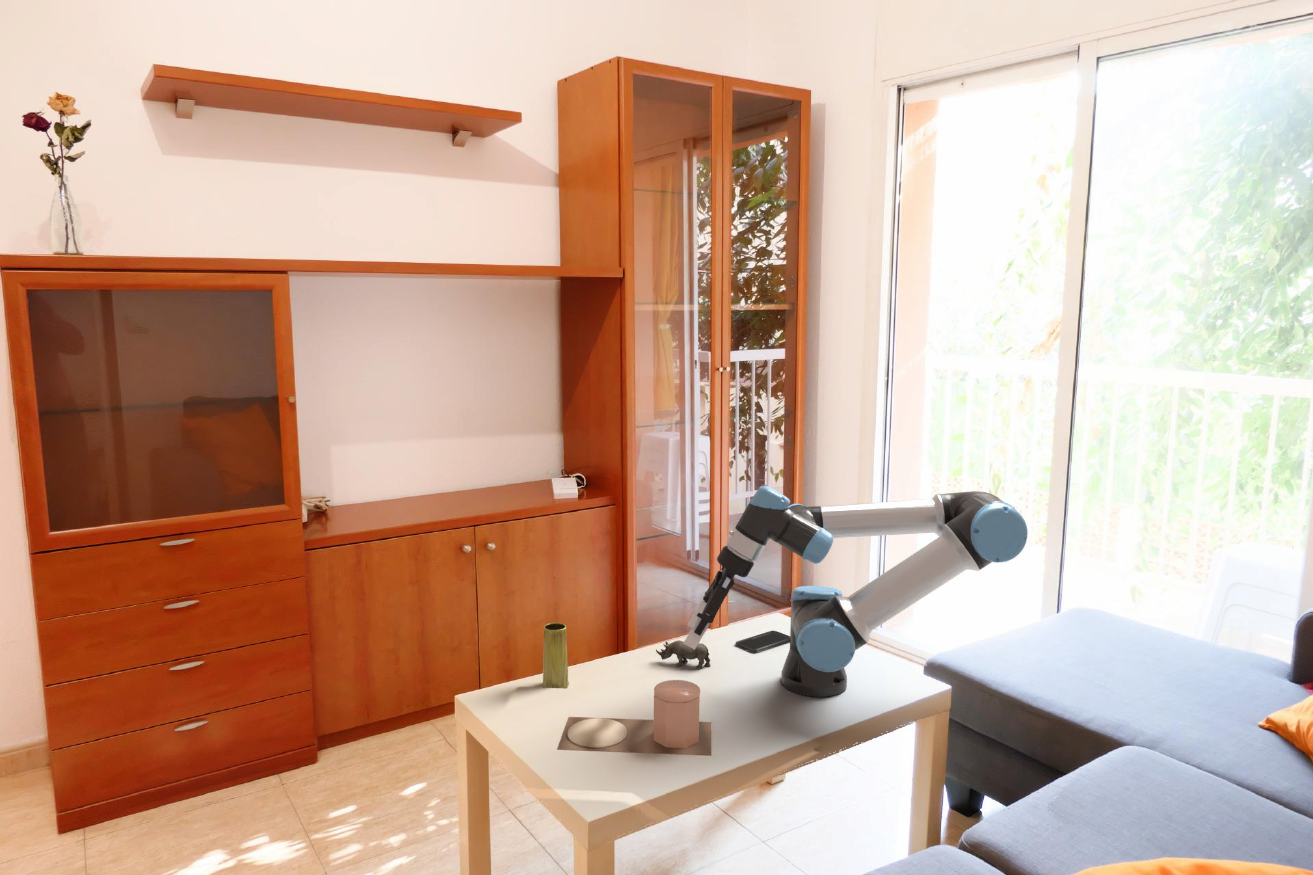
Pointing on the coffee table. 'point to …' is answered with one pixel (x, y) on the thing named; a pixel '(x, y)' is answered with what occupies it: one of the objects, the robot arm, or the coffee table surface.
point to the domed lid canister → (676, 713)
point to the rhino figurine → (686, 653)
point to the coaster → (597, 733)
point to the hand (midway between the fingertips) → (690, 636)
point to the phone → (763, 641)
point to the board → (641, 739)
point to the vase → (555, 656)
